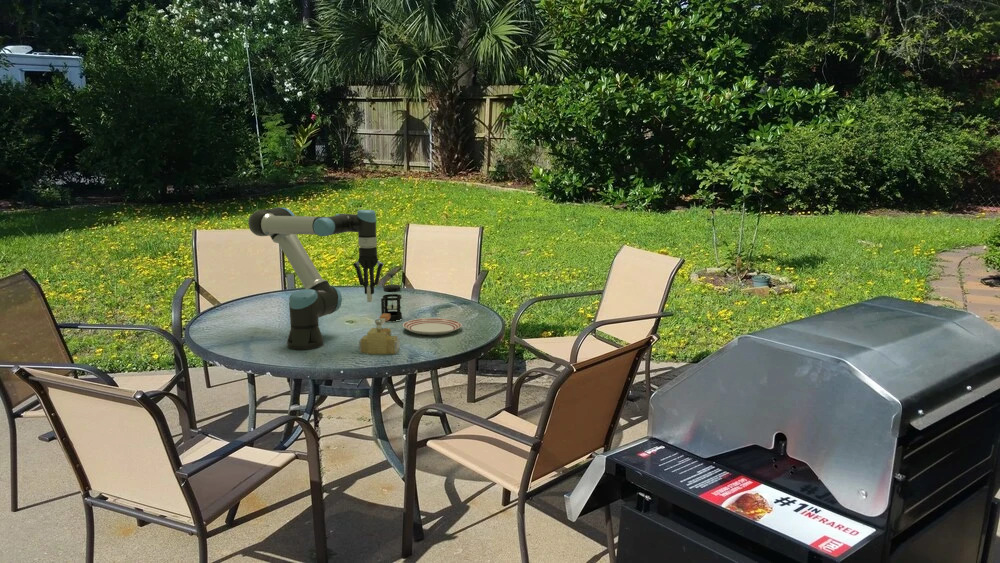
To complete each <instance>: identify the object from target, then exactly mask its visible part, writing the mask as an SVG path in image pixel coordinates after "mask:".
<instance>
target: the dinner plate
mask: <svg viewBox="0 0 1000 563" xmlns="http://www.w3.org/2000/svg"><path fill="white" fill-rule="evenodd" d="M462 326H463V324H462V323H461V322H459V320H458V321H457V320H454V319H450V318H442V317H441V318H439V317H425V318H424V317H422V318H415V319H410V320H407V321H404V322H403V323H402V327H403V328H404V329H405V330H407V331H409V332H411V333H414V334H416V333H417V335H421V334H422V336H441V334H443V335H446V333H447V334H450V333H451V332H454V331H457V330H458V329H461V328H462ZM449 332H450V333H449Z"/></svg>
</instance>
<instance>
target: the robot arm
mask: <svg viewBox="0 0 1000 563" xmlns="http://www.w3.org/2000/svg"><path fill="white" fill-rule="evenodd" d="M376 217H377V216H376V212H375V211H374V210H373V209H360V210H359V209H358V210H357V213H356V214H353V213H336V214H335V215H331V216H303V215H302V216H301V215H297V216H296V215H295V213H294V212H293V211H292V210H290V209H289V208H287V207H280V206H279V207H278V206H277V207H273V208H266V209H259V210H255V211H254V212H253V213H251V215H250V216H249V218H248V228H249V230H250V232H252V234H254V235H255V236H258V237H270V238H271V240H272V242H273V243H276V244H278V246H279V247H280V249H281V251H282V252H283V254H284V255H285V257H286V259H287V261H288V262H289V264H290V265H291V267H292V269H293V271H294V273H295V274H296V276H297V278H298V279H299V281H300V282H301V284H302V285H303V286H302V287H303V288H304V289H302V290H299V289H298V290H296V291H294V292H292V293H291V294H290V295H289V297H288V298H289V301H288V307H289V309H288V310H289V322H290V324H289V325H290V330H289V334H288V336H287V337H288V338H287V341H286V345H287V348H288V349H291V350H297V351H301V350H302V351H303V350H304V351H306V350H313V349H317V348H321V347H322V346H324V338H323V335H322V331H321V329H320V327H319V318H321V317H324V316H327V315H332V314H333V313H335V312H337V311H338V310H339V309H340V308H341V306H342V301H343V298H342V293H341V291H340V290H339V288H338V287H335V286H334V285H331V284H330V282H329V281H328V280H327V279H323V278H322V275H321V274H320V273H319V271H318V269H317V268H316V266H315V264H314V262H313V261H312V259H311V257H310V256H309V254H308V252H307V251H306V249H305V247H304V245H303V244H302V242H301V241H300V239H299V237H298V235H310V236H311V235H314V236H315V235H317V236H318V237H329V236H332V235H338V234H339V235H340V234H344V233H357V235H358V236H357V237H358V240H357V241H358V246H359V248H358V259H357V261H356V262H354V263H353V264H352V265H353V267H354V269H355V271H356V275H357V279H358V281H359V285H360V286H363V287H364V288H363V289H364V294H365V295H366V300H367V303H372V302H373V295H374V293H375V286H378V284H379V282H380V277H381V274H382V273H381V272H382V268H383V267H384V264H385V263H384V262H381V261H379V258H378V247H377V246H378V243H377V218H376ZM376 265H377V268H376V273H375V267H376ZM360 266H361V267H360ZM361 268H363V269H361ZM361 270H362V271H363V274H362V271H361Z"/></svg>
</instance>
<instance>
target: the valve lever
mask: <svg viewBox="0 0 1000 563" xmlns="http://www.w3.org/2000/svg"><path fill="white" fill-rule="evenodd" d="M389 319H390V314H388V313H385V312H384V313H383V314H382V313H381V315H380V316H379V318H378V319H375V320H374V322H375V326H376V328H377V331H381V330H382V329H381V328H382V326H383V325H384V324H385V323H386V322H385V321H388V320H389Z"/></svg>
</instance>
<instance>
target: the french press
mask: <svg viewBox="0 0 1000 563" xmlns="http://www.w3.org/2000/svg"><path fill="white" fill-rule="evenodd" d="M386 275H387V276H388V277H389V276H390V280H391V281H390V282H391V284H385V285H383V286H382V288H383V292H384V293H387V294H384V295H383V296H382V297H381V298H380V303H381V312H380V313H381V315H382V314H383V313H388V314H390V319H389V320H388V321H396V320H400V319H402V320H403V315H402V314H403V313H402V312H401V308H402V306H401V299H402V295H401V294H398V293H397V292H401V288H402V285H400V284H393V278H394V277H393V276H396V275H397V274H396V273H387V274H386ZM388 293H389V294H388ZM396 293H397V294H396ZM389 301H391V305H389ZM395 301H396V304H394V303H393V302H395Z"/></svg>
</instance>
